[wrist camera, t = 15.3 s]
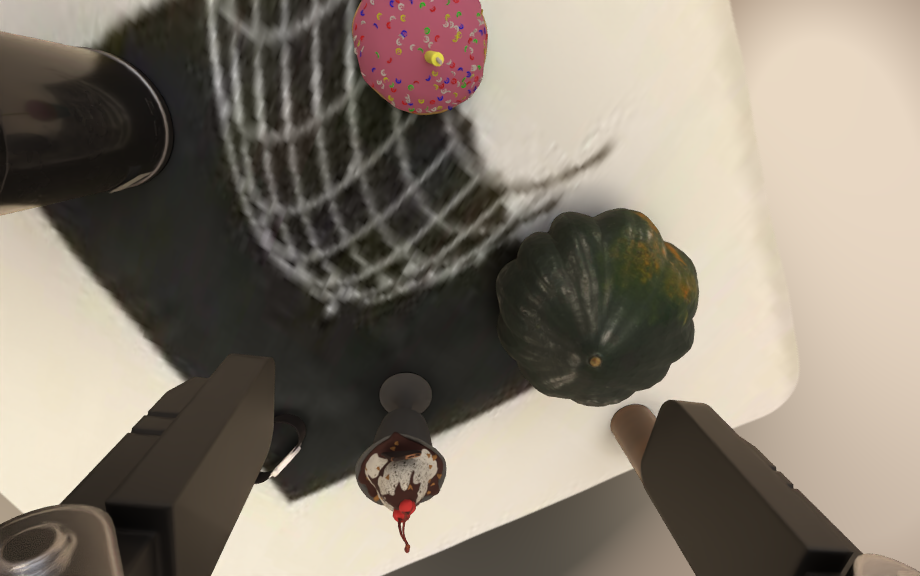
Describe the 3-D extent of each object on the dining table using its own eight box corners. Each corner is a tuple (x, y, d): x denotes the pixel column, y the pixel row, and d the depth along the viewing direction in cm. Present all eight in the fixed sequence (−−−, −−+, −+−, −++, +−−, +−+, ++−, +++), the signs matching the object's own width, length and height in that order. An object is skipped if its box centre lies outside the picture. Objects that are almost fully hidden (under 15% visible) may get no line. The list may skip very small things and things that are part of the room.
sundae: (411, 435, 44) (406, 581, 30) (356, 399, 42) (323, 538, 28) (455, 390, 43) (471, 522, 29) (400, 351, 41) (388, 472, 27)
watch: (274, 475, 45) (262, 504, 41) (232, 451, 43) (216, 479, 40) (321, 425, 43) (312, 451, 40) (279, 398, 42) (266, 423, 38)
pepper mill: (605, 438, 46) (660, 536, 36) (616, 402, 45) (678, 492, 34) (645, 441, 47) (712, 538, 36) (658, 405, 45) (731, 496, 35)
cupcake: (499, 81, 34) (537, 62, 23) (400, 137, 35) (389, 146, 23) (445, -42, 31) (457, -134, 20) (338, 22, 32) (291, -30, 20)
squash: (741, 309, 36) (764, 291, 23) (605, 429, 40) (557, 473, 27) (609, 200, 42) (567, 136, 28) (501, 314, 46) (420, 304, 32)
